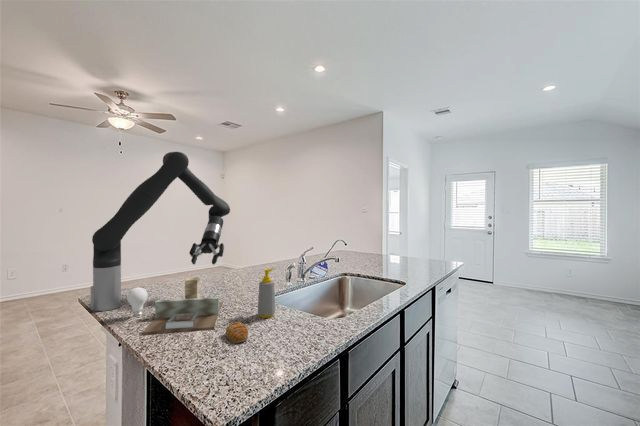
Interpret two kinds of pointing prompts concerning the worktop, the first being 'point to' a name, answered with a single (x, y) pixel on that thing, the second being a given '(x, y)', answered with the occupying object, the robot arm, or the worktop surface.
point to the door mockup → (202, 306)
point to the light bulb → (137, 299)
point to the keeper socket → (183, 324)
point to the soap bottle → (266, 296)
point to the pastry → (237, 332)
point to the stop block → (192, 288)
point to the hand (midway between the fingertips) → (203, 263)
